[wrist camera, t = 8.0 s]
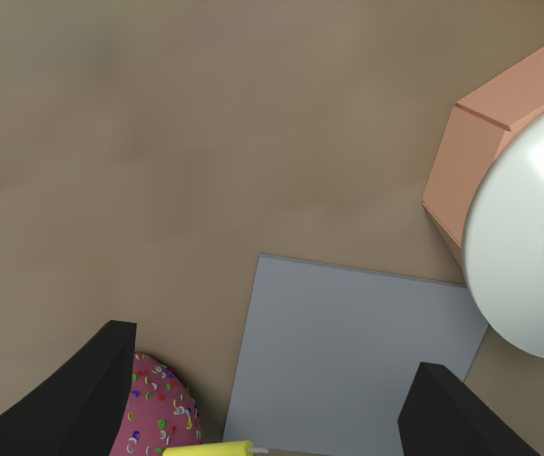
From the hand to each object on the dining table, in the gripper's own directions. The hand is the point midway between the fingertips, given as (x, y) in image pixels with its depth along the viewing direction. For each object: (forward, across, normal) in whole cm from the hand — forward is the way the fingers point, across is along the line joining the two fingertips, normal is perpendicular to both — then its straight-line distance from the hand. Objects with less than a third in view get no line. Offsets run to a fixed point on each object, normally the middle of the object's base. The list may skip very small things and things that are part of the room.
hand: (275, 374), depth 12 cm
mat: (+10, -6, +8) cm, 14 cm away
